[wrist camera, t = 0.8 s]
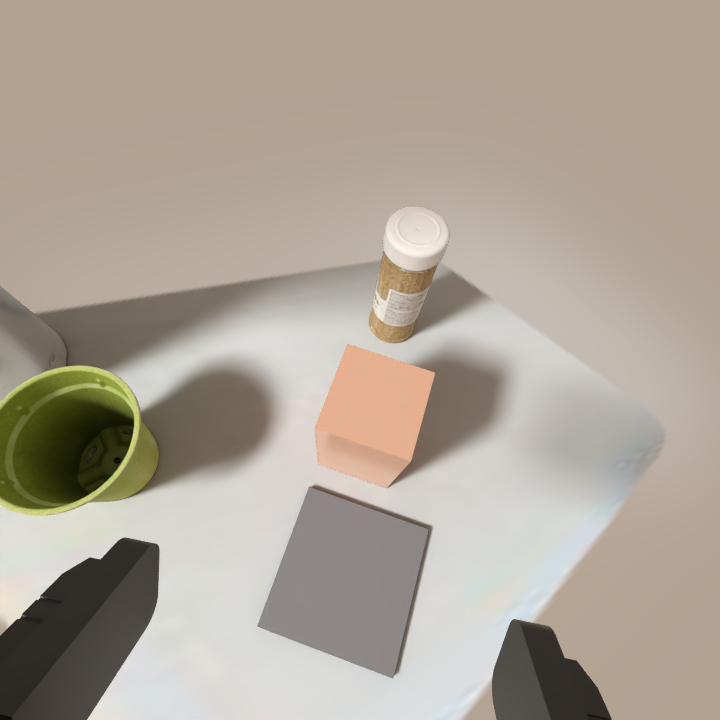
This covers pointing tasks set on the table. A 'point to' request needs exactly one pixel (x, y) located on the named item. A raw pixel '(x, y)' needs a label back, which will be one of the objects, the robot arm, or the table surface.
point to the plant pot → (72, 442)
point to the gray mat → (346, 581)
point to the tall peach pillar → (372, 416)
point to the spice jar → (406, 270)
